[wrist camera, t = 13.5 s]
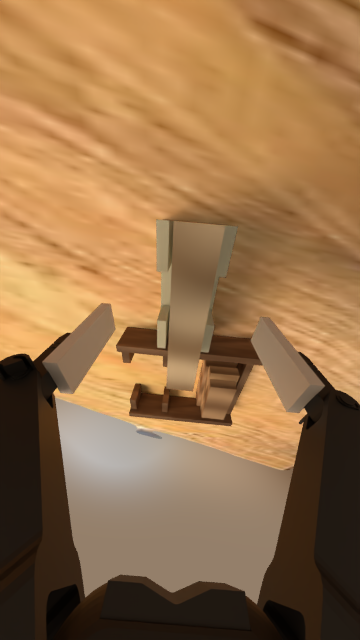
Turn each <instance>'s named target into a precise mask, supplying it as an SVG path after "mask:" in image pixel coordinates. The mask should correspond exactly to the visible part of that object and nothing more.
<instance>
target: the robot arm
mask: <svg viewBox="0 0 360 640" xmlns="http://www.w3.org/2000/svg"><path fill="white" fill-rule="evenodd" d="M114 331H115V324H114V319H113V314H112V309H111V304H106V303H101V304H100V305H99V306H98V307H97V308H96V309H95V310H94V311H93V312H92V313H91V314H90V315H89V316H88V317H87V318H86V319H85V320H84V321H83V322H82V323H81V324H80V325H79V326H78V327H77V328H76V329H75V330H74V331H73V332H72V333H66V334H64V335H63V336H61V337H59V338H58V339H57V340H56V341H55V342H54V344H52V345H51V346H50V347H49V348H47V349H46V350H45V351H44V352H43V353H42V354H41V355H40V356H39V357H38V358H37V359H35V360H34V361H32V360H31V358H30V357H29V355H27V354H17V355H12V356H10V357H7V358H5V359H3V360H2V361H0V640H360V405H359V403H358V402H357V401H356V400H355V399H353V398H352V397H351V396H349V395H348V394H346V393H344V392H341V391H338V390H335V389H334V387H333V386H332V385H331V384H330V383H329V382H328V380H327V379H326V378H325V377H324V376H323V375H322V373H321V372H320V371H319V370H318V369H317V368H316V366H315V365H313V363H312V362H311V361H310V359H309V358H308V357H306V356H305V355H304V354H302V353H301V352H297V351H296V350H295V348H294V347H293V346H292V345H291V343H290V342H289V341H288V340H287V339H286V337H285V336H284V335H283V334H282V332H281V331H280V330H279V329H278V327H277V326H276V325H275V324H274V323H273V321H272V320H271V319H270V318H269V317H260V319H259V322H258V324H257V326H256V329H255V331H254V334H253V336H252V338H251V343H252V345H253V347H254V349H255V351H256V353H257V355H258V357H259V359H260V361H261V362H262V364H263V366H264V368H265V370H266V372H267V374H268V376H269V378H270V380H271V382H272V384H273V386H274V388H275V390H276V392H277V394H278V396H279V398H280V400H281V402H282V404H283V406H284V408H285V410H286V412H294V413H299V412H300V411H301V410H302V409H303V408H305V410H306V411H307V414H306V415H305V416H304V417H303V418H302V419H301V420H300V422H299V424H302V423H303V422H304V423H303V428H302V432H301V437H300V441H299V446H298V451H297V455H296V460H295V464H294V469H293V474H292V478H291V483H290V487H289V492H288V497H287V501H286V506H285V510H284V515H283V520H282V524H281V528H280V533H279V537H278V542H277V546H276V551H275V555H274V558H273V560H272V562H271V564H270V565H269V567H268V568H267V571H266V573H265V575H264V579H263V582H262V586H261V590H260V595H259V599H258V603H257V604H255V603H254V602H253V601H252V600H250V599H249V598H248V597H247V596H245V591H242V590H239V589H237V588H235V587H232V586H230V585H227V584H225V583H215V582H202V581H199V582H196V583H194V584H192V585H190V586H187V587H185V588H183V589H181V590H178V591H176V592H174V593H171V592H169V591H167V590H166V589H164V588H163V587H161V586H159V585H158V584H156V583H155V582H153V581H152V580H150V579H148V578H147V577H141V576H129V575H119V576H117V577H115V578H112V579H110V580H109V581H108V583H106V584H104V585H102V586H101V587H99V588H97V589H96V590H94V591H93V592H92V593H90V594H89V595H88V596H87V597H86V598H85V594H84V587H83V580H82V574H81V566H80V560H79V557H78V553H77V551H76V548H75V546H74V543H73V538H72V530H71V523H70V515H69V506H68V498H67V490H66V482H65V475H64V467H63V459H62V451H61V444H60V435H59V427H58V419H57V411H56V403H55V396H54V394H53V392H54V391H55V389H56V388H58V389H59V391H60V393H68V394H73V393H74V392H75V390H76V389H77V387H78V386H79V384H80V383H81V381H82V380H83V378H84V377H85V375H86V373H87V372H88V370H89V369H90V367H91V366H92V364H93V363H94V361H95V360H96V358H97V357H98V355H99V354H100V352H101V351H102V349H103V348H104V346H105V344H106V343H107V341H108V340H109V338H110V337H111V335H112V334H113V332H114Z"/></svg>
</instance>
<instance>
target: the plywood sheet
mask: <svg viewBox="0 0 360 640" xmlns="http://www.w3.org/2000/svg"><path fill="white" fill-rule="evenodd" d="M225 226H226V225H217V224H208V223H196V222H185V221H174V224H173V248H172V271H171V294H170V317H169V340H168V363H167V386H166V389H175V390H185V391H193V388H194V383H195V378H196V373H197V368H198V363H199V358H200V353H201V348H202V343H203V337H204V332H205V327H206V322H207V317H208V312H209V307H210V302H211V297H212V292H213V287H214V282H215V276H216V271H217V266H218V261H219V256H220V251H221V246H222V241H223V236H224V231H225Z"/></svg>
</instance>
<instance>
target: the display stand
mask: <svg viewBox="0 0 360 640" xmlns="http://www.w3.org/2000/svg"><path fill="white" fill-rule="evenodd" d="M173 224H174V221H171V220H158V219H156V234H157V271H158V272H161V310H160V313H159V316H158V319H157V348H166V343H167V338H168V333H169V317H170V294H171V271H172V248H173ZM237 228H238V226H229V225H226V226H225V231H224V236H223V241H222V246H221V251H220V256H219V261H218V266H217V271H216V276H215V282H214V287H213V292H212V297H211V302H210V307H209V312H208V317H207V322H206V327H205V332H204V337H203V343H202V348H201V352H209V348H210V344H211V340H212V335H213V331H214V327H215V325H214V320H213V316H212V308H213V304H214V299H215V294H216V289H217V285H218V280H219V277H225V278H226V275H227V271H228V267H229V263H230V258H231V254H232V250H233V245H234V241H235V237H236V233H237Z"/></svg>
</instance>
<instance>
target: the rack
mask: <svg viewBox="0 0 360 640" xmlns="http://www.w3.org/2000/svg"><path fill="white" fill-rule="evenodd" d="M168 340H169V333H168V338H167V343H166V348H157V330H151V329H141V328H130V327H127V328H126V330H125V332H124V333H123V335H122V337H121V338H120V340H119V342H118V343H117V345H116V348H117V351H118V352H122V357H123V363H131V360H132V358H133V356H134V353H139V354H149V355H159V356H163V366H164V367H167V363H168ZM199 359H201V360H203V363H202V368H201V372H200V377H199V381H198V386H197V391H196V398H186V397H176V396H169V392H170V389H166V387H165V388H164V395H156V394H146V393H141V384H135V387H134V390H133V392H132V395H131V398H130V403H131V409H130V412H129V415H130V416H135V417H145V418H155V419H165V420H174V421H184V422H194V423H204V424H214V425H224V426H231V425H232V420H231V415H230V414H231V412H232V410H233V407H234V405H235V403H236V401H237V399H238V397H239V395H240V393H241V391H242V389H243V386H244V384H245V382H246V380H247V378H248V376H249V374H250V372H251V370H252V367H253V365H263V364H262V362H261V361H260V359H259V357H258V355H257V353H256V351H255V349H254V347H253V345H252V343H251V339H247V338H236V337H225V336H215V335H212V340H211V344H210V348H209V352H201V353H200V358H199ZM237 363H238V364H237ZM236 364H237V366H236Z"/></svg>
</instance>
